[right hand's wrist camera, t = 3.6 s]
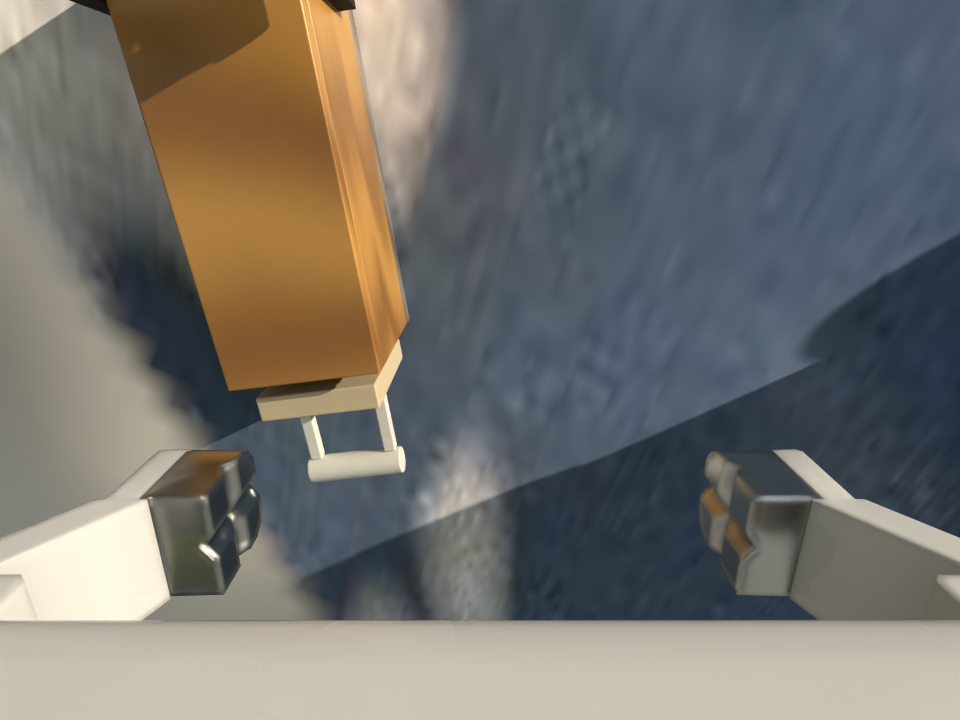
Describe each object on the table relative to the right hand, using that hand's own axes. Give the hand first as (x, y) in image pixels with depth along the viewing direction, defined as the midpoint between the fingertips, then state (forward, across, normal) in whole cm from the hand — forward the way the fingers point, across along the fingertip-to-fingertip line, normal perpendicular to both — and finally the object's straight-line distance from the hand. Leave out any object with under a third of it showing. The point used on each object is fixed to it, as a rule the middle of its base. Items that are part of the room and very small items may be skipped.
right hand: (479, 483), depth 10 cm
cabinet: (+22, +9, -6) cm, 25 cm away
